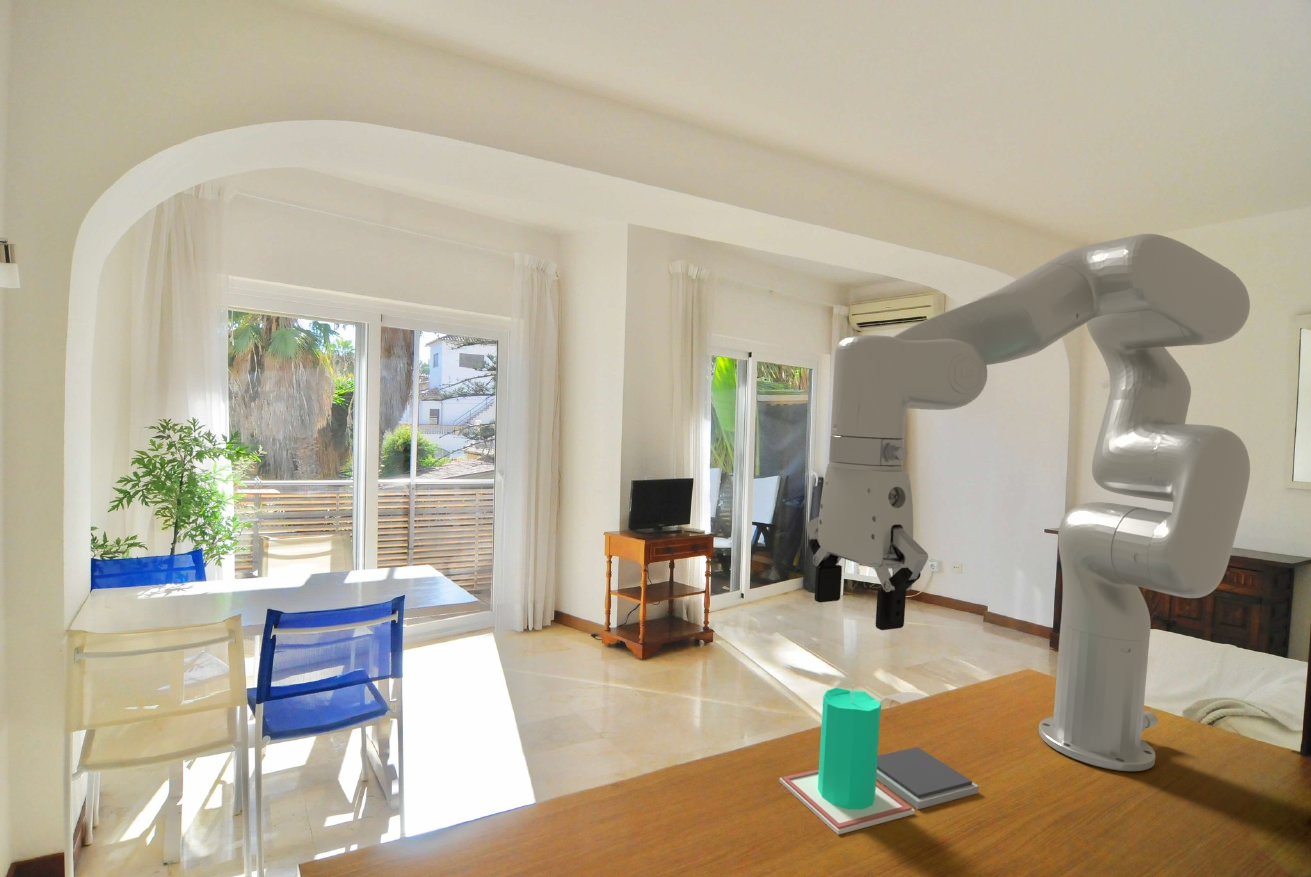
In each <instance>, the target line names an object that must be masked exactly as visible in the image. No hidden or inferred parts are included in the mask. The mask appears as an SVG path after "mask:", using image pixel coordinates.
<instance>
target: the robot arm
mask: <svg viewBox="0 0 1311 877" xmlns="http://www.w3.org/2000/svg"><path fill="white" fill-rule="evenodd" d="M1250 308H1251V304H1250V295H1249V292H1248V289H1247V287H1246V285H1245V284H1244V282H1243V281H1242V279H1241V278H1240V277H1239V276H1238V275H1237V274H1236V273H1234V272H1233V271H1232V270H1231V269H1229V268H1228V267H1226V266H1224V265H1222V264H1221V263H1219V262H1217V261H1216V260H1213V259H1212V258H1210V257H1209V256H1207V255H1205V254H1204V253H1201V252H1200V251H1198V250H1197V249H1195V248H1193V247H1192V246H1189V245H1187V244H1185V243H1183V242H1181V241H1179V240H1176V239H1174V238H1172V237H1168V236H1165V235H1161V234H1157V233H1155V234H1154V233H1143V234H1142V233H1141V234H1136V235H1130V236H1126V237H1121V238H1116V239H1112V240H1107V241H1102V242H1096V243H1093V244H1088V245H1085V246H1079V247H1077V248H1076V247H1075V248H1074V249H1071V250H1068V251H1066V252H1063V253H1062V254H1059V255H1058V256H1056V257H1054V258H1053V259H1052V258H1051V260H1049V261H1047V262H1045V263H1043V264H1042V265H1040V266H1038V267H1037V268H1035V269H1033V270H1031V271H1030V272H1028V273H1026V274H1024V275H1022V276H1021V277H1018V278H1017V279H1015V280H1014V281H1012V282H1010V283H1009V284H1006V285H1005V286H1003V287H1001V288H999V289H997V290H994V291H993V292H990V293H988V294H985V295H983V296H982V295H981V296H980V297H978V298H977V297H976V298H975V299H973V300H970V301H968V302H966V303H963V304H961V305H958V306H957V307H954V308H951V309H950V310H947V311H945V312H943V313H940V314H937V315H935V316H932V317H930V318H927V319H925V320H923V321H920V322H919V323H916V324H914V325H912V326H911V327H908V328H906V329H904V330H903V331H901V332H899V333H898V334H895V335H894V336H889V335H877V334H876V335H875V334H873V335H872V334H871V335H867V334H866V335H865V334H864V335H855V336H854V335H853V336H849V337H846V338H842V339H841V340H840V341H839V342H838V343H837V346H836V348H835V352H834V366H833V383H832V384H833V385H832V399H831V400H832V403H831V404H832V405H831V420H830V423H831V424H830V435H829V436H830V437H829V438H830V439H829V455H828V456H829V457H828V464H827V466H826V471H825V475H824V478H823V484H822V491H821V497H820V505H819V513H818V514H819V515H818V516H816V517H814V518H813V519H810V520H809V521H807V522H806V529H807V530H806V531H807V535H808V539H809V543H808V544H809V547H810V550H811V553H812V554H813V557H812V563H813V565H814V566H815V567H816V568H815V581H814V582H815V583H814V585H815V586H814V601H815V602H817V603H827V602H828V603H829V602H838V601H840V600H841V594H842V592H841V590H842V576H843V575H842V574H843V566H842V565H840V564H839V562H840V561H841V560H842V559H844V560H847V561H850V562H853V563H855V564H859V565H862V566H866V567H869V568H873V569H874V571H875V573H876V575H877V577H878V580H879V582H880V584H881V586H882V588H879V589H877V595H876V607H875V608H876V610H875V628H876V629H878V630H879V631H888V630H889V631H890V630H896V629H902V628H903V627H904V625H905V612H906V597H907V591H910V590H911V589H912V588H913V585H914V584H915V583H916V581H918V580H919V579H920V578H921V572H922V571H923V569H924V567H925V566H926V564H927V561H929V554H928V552H927V551H926V550H925V549H924V548H923V547H922V546H921V545H920V544H919V543H918V542H917V541H916V540H914V509H913V507H914V506H913V505H914V504H913V494H912V493H913V492H912V486H911V485H912V484H911V479H910V475H909V471H907V470H904V461H905V460H906V459H907V457H908V449H907V448H906V447H905V442H906V441H905V440H906V439H905V438H906V426H907V425H906V423H907V422H906V420H907V409H913V410H914V409H915V410H917V409H918V410H928V411H929V410H932V411H933V410H935V411H936V410H938V411H947V410H949V411H950V410H954V409H958V408H962V407H964V406H967V405H969V404H970V403H972V402H973V401H975V400H976V399H977V398H978V397H979V396H980V394H982V392H983V391H984V388H985V386H986V384H987V381H988V366H989V365H997V364H1001V363H1008V362H1011V361H1015V360H1020V359H1022V358H1025V357H1029V356H1032V355H1035V354H1038V353H1040V352H1041V351H1043V350H1045V349H1046V348H1047V347H1049V346H1051V345H1052V344H1053V343H1055V342H1057V341H1059V340H1060V339H1062V338H1063V337H1065V336H1067V335H1068V334H1069V333H1071V332H1073V331H1074V330H1076V329H1078V328H1079V327H1081V326H1083V325H1085V324H1086V327H1087V331H1088V332H1089V335H1090V338H1092V340H1093V342H1094V343H1095V345H1096V347H1097V349H1098V350H1099V352H1100V354H1101V356H1102V358H1103V360H1104V362H1105V365H1106V369H1107V370H1108V373H1109V379H1110V385H1109V387H1110V389H1109V394H1108V399H1107V403H1106V407H1105V411H1104V414H1103V418H1102V422H1101V426H1100V429H1099V433H1098V436H1097V441H1096V444H1095V447H1094V452H1093V457H1092V463H1091V474H1092V478H1093V480H1094V481H1095V483H1096V484H1097V485H1098V486H1100V487H1101V488H1102V489H1104V490H1106V491H1109V492H1110V493H1111V492H1112V493H1114V494H1118V495H1119V494H1120V495H1124V496H1129V497H1134V498H1141V499H1147V500H1148V499H1149V500H1156V501H1163V502H1164V501H1165V502H1171V503H1172V508H1171V512H1170V511H1162V510H1156V509H1149V508H1146V507H1140V506H1133V505H1128V504H1127V505H1126V504H1120V503H1113V502H1104V501H1103V502H1102V501H1097V502H1095V501H1092V502H1085V503H1082V504H1078V505H1076V506H1075V507H1073V508H1071V509H1070V510H1069V511H1067V512H1066V513H1065V515H1064V516H1063V518H1062V519H1061V521H1060V524H1059V526H1058V533H1057V542H1058V544H1057V545H1058V551H1059V560H1060V566H1061V574H1062V575H1061V576H1062V598H1061V599H1062V600H1061V602H1062V603H1061V617H1060V618H1061V619H1060V625H1059V626H1060V627H1059V640H1058V653H1057V666H1056V668H1057V669H1056V679H1055V680H1056V682H1055V694H1054V695H1055V696H1054V706H1053V707H1054V708H1053V716H1050V717H1047V718H1043V719H1042V720H1041V721H1040V723H1039V724H1038V734H1039V737H1040V738H1041V739H1042V740H1043V741H1044V742H1045V743H1046V745H1049V747H1051V748H1052V749H1054V750H1056V752H1060V753H1061V754H1063V755H1065V756H1067V757H1070V758H1072V759H1074V760H1077V761H1079V762H1082V763H1085V764H1088V765H1092V766H1094V767H1099V768H1103V769H1108V770H1114V771H1119V772H1142V771H1146V770H1149V769H1150V768H1153V767H1154V765H1155V761H1156V752H1155V751H1154V748H1152V746H1150V744H1149V743H1147V742H1146V741H1144V740H1143V739H1142V737H1143V732H1144V731H1145V730H1146V729H1149V728H1153V727H1156V726H1157V725H1158V724H1159V723H1158V721H1159V720H1158V718H1157V716H1156V715H1155V713H1153V712H1152V711H1149V710H1148V711H1144V710H1145V697H1146V687H1147V686H1146V685H1147V671H1148V659H1149V649H1150V637H1151V627H1152V626H1151V624H1152V622H1151V616H1150V611H1149V608H1148V606H1147V602H1146V600H1145V598H1144V595H1143V593H1142V592H1141V589H1140V588H1143V589H1146V590H1151V591H1155V592H1159V593H1163V594H1166V595H1170V596H1174V597H1180V598H1186V599H1198V598H1199V599H1200V598H1204V597H1206V596H1208V595H1209V594H1211V593H1212V592H1214V591H1216V590H1217V587H1219V585H1220V584H1221V582H1222V580H1223V578H1224V576H1225V574H1226V571H1227V567H1228V564H1229V562H1230V558H1231V555H1232V551H1233V548H1234V543H1235V539H1236V535H1237V531H1238V527H1239V524H1240V520H1241V516H1242V511H1243V507H1244V505H1245V500H1246V497H1247V492H1248V487H1249V481H1250V478H1251V477H1250V476H1251V475H1250V474H1251V464H1250V462H1251V461H1250V458H1249V452H1248V450H1247V446H1246V445H1245V443H1244V441H1243V440H1242V439H1241V438H1240V437H1239V436H1238V435H1237V434H1235V433H1234V432H1233V431H1231V430H1229V429H1227V428H1224V427H1221V426H1220V427H1219V426H1215V425H1206V424H1193V423H1191V424H1190V423H1189V424H1187V423H1186V419H1187V416H1188V411H1189V405H1190V401H1191V396H1192V387H1191V383H1190V380H1189V378H1188V376H1187V374H1186V372H1185V371H1184V370H1183V368H1182V366H1181V365H1180V364H1179V362H1177V360H1176V359H1175V358H1174V357H1173V356H1172V354H1171V353H1170V352H1169V351H1168V350H1167V348H1169V347H1182V346H1183V347H1187V346H1202V345H1203V346H1205V345H1212V344H1218V343H1221V342H1224V341H1226V340H1229V339H1231V338H1233V337H1234V336H1235V335H1236V334H1238V333H1239V331H1241V329H1242V328H1243V327H1244V326H1245V324H1246V322H1247V320H1248V317H1249V315H1250ZM889 569H890V570H892V573H893V575H892V574H891V572H890V571H889Z"/></svg>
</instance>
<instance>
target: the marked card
mask: <svg viewBox="0 0 1311 877" xmlns="http://www.w3.org/2000/svg"><path fill="white" fill-rule="evenodd" d="M818 775H819V768H818V769H814V770H809V771H804V772H803V771H802V772H800V773H799V772H798V773H795V774H794V773H793V774H790V775H785V776H782V777H779V779H778V780H779V781H778V782H779V783H780V784H781V785H782V786H783V787H784V788H785V789H787V791H789V792H790V793H791V794H792V795H793V796H794V797H795V798H796V799H798V800H799V801H800V802H801V803H802V804H803V805H804V806H806V808H808V809H809V810H810V811H811V812H812V813H813V814H814V815H815V816H816V817H817V818H819V819H820V821H822V822H823V823H824V824H825V825H826V826H828V828H830V830H832V831H833V832H834V833H835V834H836V835H839V836H840V835H842V834H846V833H849V832H854V831H858V830H861V829H864V828H869V827H871V826H875V825H878V824H882V823H886V822H890V821H894V820H898V819H901V818H905V817H908V816H912V815H915V809H914V808H912V806H910V804H909V805H908V804H907V803H906V802H904V800H902V799H901V798H899V796H897V795H895V793H893V792H891V791H890V790H888V788H887V787H886V788H885V786H883V784H882V785H881V784H880V783H879V781H878V782H877V781H876V790H875V800H874V803H873V805H872V806H870V807H867V808H865V809H846V808H842V807H839V806H836V805H833V804H831V803H830V802H828V801H827V800H825V799H824V798H822V796H821V794H820V793H819V791H818Z"/></svg>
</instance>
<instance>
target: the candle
mask: <svg viewBox="0 0 1311 877" xmlns="http://www.w3.org/2000/svg"><path fill="white" fill-rule="evenodd" d="M854 687H855V686H854V684H852V685H851V689H845V688H841V687H833V688H831V689H827V690H826V691H825V693H824V694H823V697H822V698H823V699H822V712H821V728H820V729H821V731H820V746H819V759H818V760H819V761H818V769H819V775H818V791H819V793H820V794H821V796H822V798H824V799H825V800H827V801H828V802H830V803H831V804H833V805H836V806H839V807H842V808H846V809H865V808H867V807H870V806H872V805H873V803H874V800H875V790H876V782H877V779H876V775H877V759H878V755H879V743H880V742H879V740H880V727H881V726H880V725H881V711H882V702H880V701H879V700H877V699H875V698H874V697H873V696H872V695H870V694H869V693H867V692H866V691H864V690H854Z"/></svg>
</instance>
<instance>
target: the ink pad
mask: <svg viewBox="0 0 1311 877" xmlns="http://www.w3.org/2000/svg"><path fill="white" fill-rule="evenodd" d="M876 781H878V782H880V783H881V784H882V785H884V787H886V788H887V789H889V790H891V791H892V793H894V794H896V796H898V797H900V798H902V799H903V801H906V802H907V803H908V804H909V805H911V807H912V806H913V808H915V809H917V810H921V809H925V808H928V807H932V806H936V805H940V804H943V803H947V802H950V801H954V800H958V799H962V798H965V797H969V796H972V795H976V794H979V788H980V787H979V785H978V784H976V783H974V782H973V780H972V779H970V778H968V777H967V776H965V775H963V774H962V773H960V772H958V771H957V770H955V769H953V768H952V767H950V766H949V765H948V764H945V763H944V762H942V761H941V760H939V759H938V758H936V757H934V756H933V755H931V754H929V753H928V752H926V751H925V750H923V749H922V748H920V747H919V746H915V747H912V748H907V749H902V750H901V749H900V750H897V751H891V752H889V753H884V754H878V759H877V775H876Z"/></svg>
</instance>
